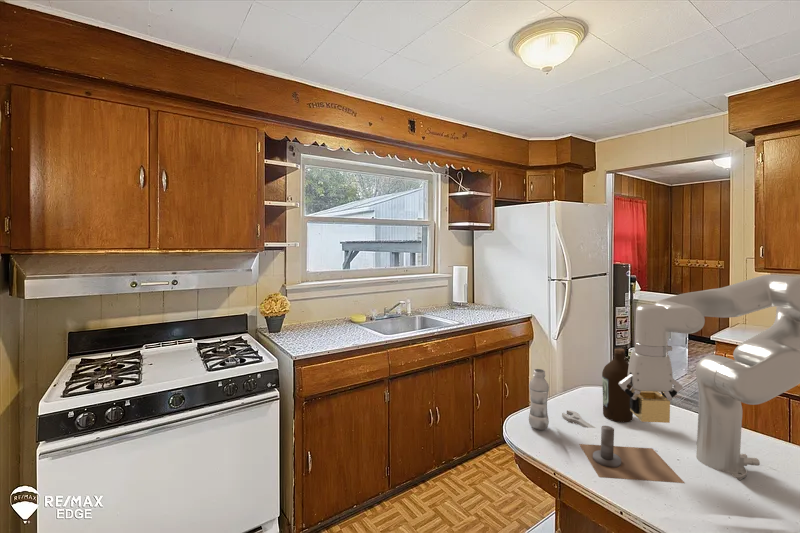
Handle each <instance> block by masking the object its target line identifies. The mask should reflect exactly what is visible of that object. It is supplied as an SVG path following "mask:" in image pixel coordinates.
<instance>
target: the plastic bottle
mask: <svg viewBox="0 0 800 533" xmlns="http://www.w3.org/2000/svg"><path fill="white" fill-rule="evenodd" d="M532 375H533V378H532V379H531V380H530V381H529V384H528V387H529V396H530V409H529V415H528V424H529V426H530V427H531V428H532V429H535V430H539V431H544V430H547V428H548V427H549V422H550V420H549V415H548V414H549V413H548V397H549V390H550V386H549V383H548V381H547V380H546V371H545V370H544V369H540V368H536V369H535V368H534V369H533V374H532Z"/></svg>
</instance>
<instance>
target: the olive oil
mask: <svg viewBox="0 0 800 533" xmlns="http://www.w3.org/2000/svg"><path fill="white" fill-rule="evenodd" d="M625 351H626V350H625V349H624V348H620V347H616V348H614V351H613V359H612V360H610V362H608V363H607V364H605V366H604V367H603V370H602V372H601V379H602V380H601V383H602V385H601V386H602V414H603V417H605V418H606V419H608V420H610V421H613V422H616V423H631V422H632V421H633V417H634V416H633V415H634V414H633V413H632V412H631V411H630V396H629V395H628V394H627V393H626V392H625V391H624V390H623V389H622V388H621V387H620V386H619V384H618V383H619V382H620V381H622V380H623V379H624V378H626V377H627V376H628V367H629V362H627V361H626V360H625V358H626V353H625ZM631 387H632V386H631V385H629V384H628V385H627V388H628V389H629V390H630V389H631Z"/></svg>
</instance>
